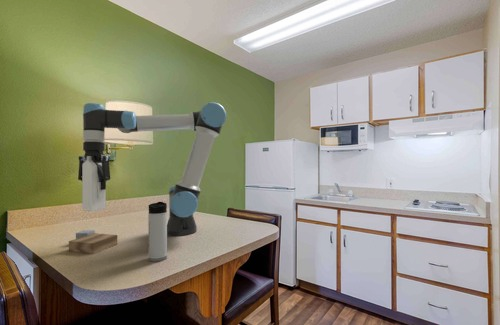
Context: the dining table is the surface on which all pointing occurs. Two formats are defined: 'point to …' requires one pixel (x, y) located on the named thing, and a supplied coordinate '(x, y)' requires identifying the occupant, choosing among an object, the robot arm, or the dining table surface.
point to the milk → (91, 187)
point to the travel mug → (157, 231)
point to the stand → (92, 243)
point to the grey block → (84, 233)
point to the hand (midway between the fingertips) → (94, 197)
